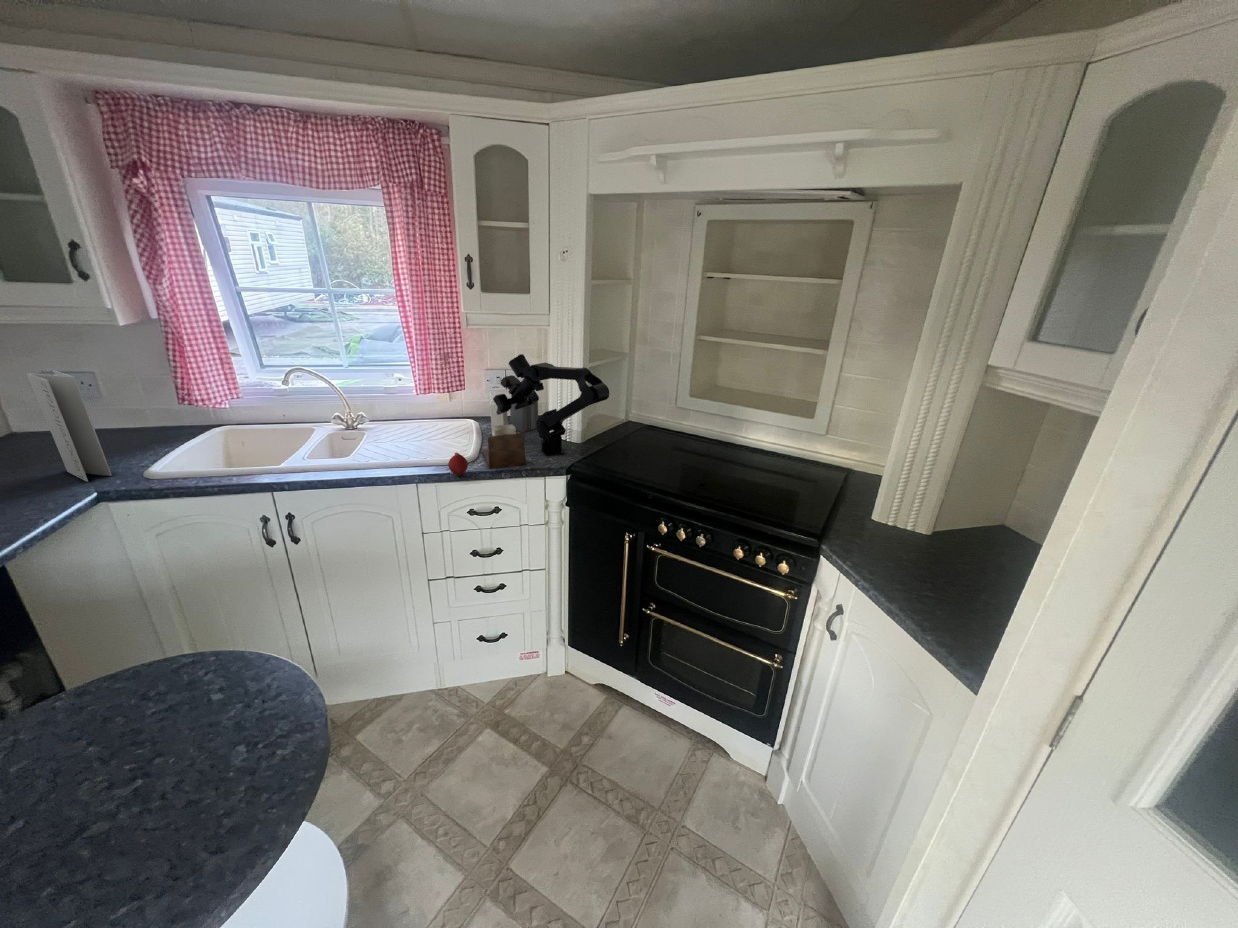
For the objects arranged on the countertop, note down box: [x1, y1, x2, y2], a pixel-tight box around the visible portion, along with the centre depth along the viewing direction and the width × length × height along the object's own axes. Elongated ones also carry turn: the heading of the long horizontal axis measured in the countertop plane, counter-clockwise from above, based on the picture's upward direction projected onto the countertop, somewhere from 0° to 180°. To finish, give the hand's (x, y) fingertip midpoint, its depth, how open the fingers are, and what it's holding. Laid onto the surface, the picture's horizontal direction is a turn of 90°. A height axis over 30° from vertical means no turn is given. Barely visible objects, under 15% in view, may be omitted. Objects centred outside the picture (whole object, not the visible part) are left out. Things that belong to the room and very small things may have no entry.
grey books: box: [509, 401, 539, 433], centre depth 203 cm, size 9×7×13 cm
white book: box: [489, 404, 509, 436], centre depth 193 cm, size 2×7×12 cm, turn 56°
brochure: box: [26, 370, 113, 483], centre depth 143 cm, size 14×6×30 cm, turn 62°
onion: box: [448, 451, 469, 477], centre depth 157 cm, size 6×6×8 cm
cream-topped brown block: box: [482, 423, 526, 469], centre depth 171 cm, size 12×16×13 cm
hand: (506, 411), depth 189 cm, fingers open, 9 cm apart
